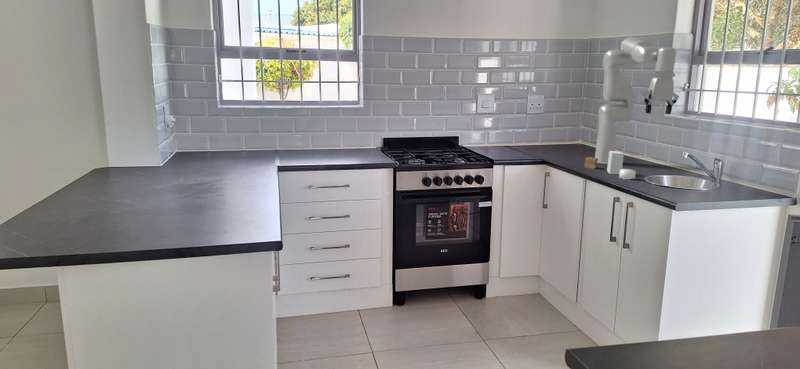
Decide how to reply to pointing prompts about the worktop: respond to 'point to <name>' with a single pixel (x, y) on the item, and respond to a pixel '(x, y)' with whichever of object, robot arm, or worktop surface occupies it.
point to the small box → (615, 162)
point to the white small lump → (627, 174)
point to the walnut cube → (591, 163)
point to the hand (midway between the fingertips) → (657, 113)
